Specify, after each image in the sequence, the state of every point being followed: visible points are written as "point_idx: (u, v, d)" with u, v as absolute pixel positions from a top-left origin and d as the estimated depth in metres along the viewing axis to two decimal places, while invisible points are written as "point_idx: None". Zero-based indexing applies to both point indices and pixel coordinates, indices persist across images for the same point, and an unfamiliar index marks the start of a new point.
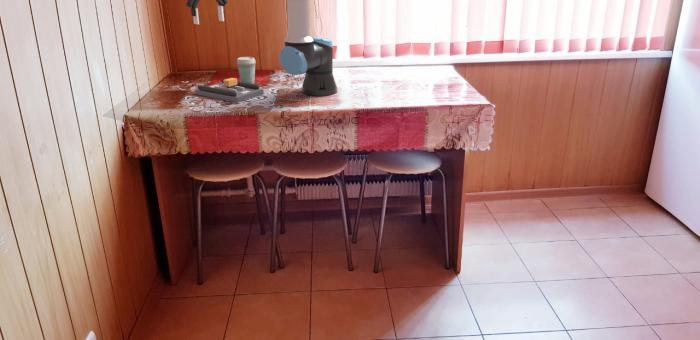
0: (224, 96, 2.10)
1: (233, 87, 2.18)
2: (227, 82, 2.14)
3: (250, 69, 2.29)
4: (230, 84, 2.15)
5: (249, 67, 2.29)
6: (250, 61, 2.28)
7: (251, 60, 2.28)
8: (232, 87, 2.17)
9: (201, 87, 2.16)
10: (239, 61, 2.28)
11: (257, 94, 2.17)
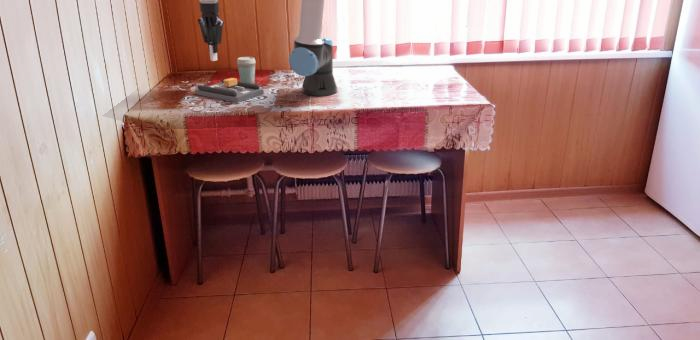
0: (224, 96, 2.10)
1: (233, 87, 2.18)
2: (227, 82, 2.14)
3: (250, 69, 2.29)
4: (230, 84, 2.15)
5: (250, 67, 2.29)
6: (250, 61, 2.28)
7: (251, 60, 2.28)
8: (232, 87, 2.17)
9: (201, 87, 2.16)
10: (239, 61, 2.28)
11: (257, 94, 2.17)
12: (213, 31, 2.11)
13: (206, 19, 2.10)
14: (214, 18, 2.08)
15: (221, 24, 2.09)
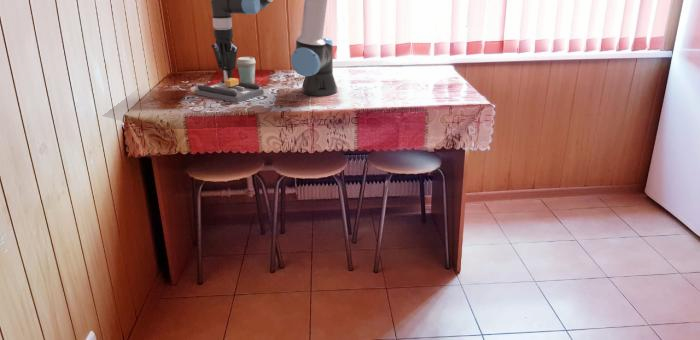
0: (224, 96, 2.10)
1: (234, 87, 2.17)
2: (228, 82, 2.14)
3: (250, 69, 2.29)
4: (231, 84, 2.15)
5: (249, 67, 2.29)
6: (250, 61, 2.28)
7: (251, 60, 2.28)
8: (233, 87, 2.17)
9: (201, 87, 2.16)
10: (239, 61, 2.28)
11: (257, 94, 2.17)
12: (227, 57, 2.12)
13: (220, 45, 2.11)
14: (228, 44, 2.09)
15: (235, 50, 2.09)
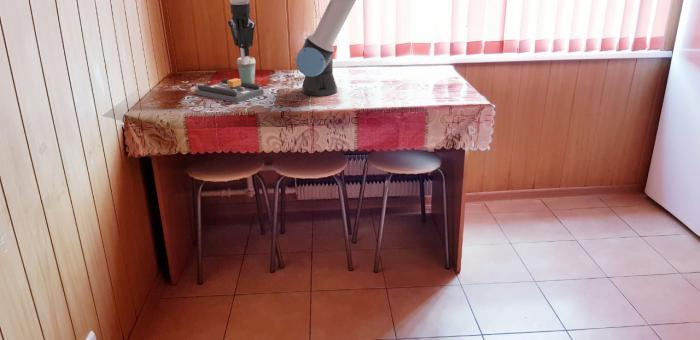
0: (224, 96, 2.10)
1: (237, 88, 2.17)
2: (231, 83, 2.13)
3: (250, 69, 2.29)
4: (234, 85, 2.14)
5: (249, 67, 2.29)
6: (250, 61, 2.28)
7: (251, 60, 2.28)
8: (236, 88, 2.16)
9: (201, 87, 2.16)
10: (239, 61, 2.28)
11: (257, 94, 2.17)
12: (244, 33, 2.03)
13: (237, 21, 2.02)
14: (245, 20, 2.00)
15: (253, 26, 2.00)
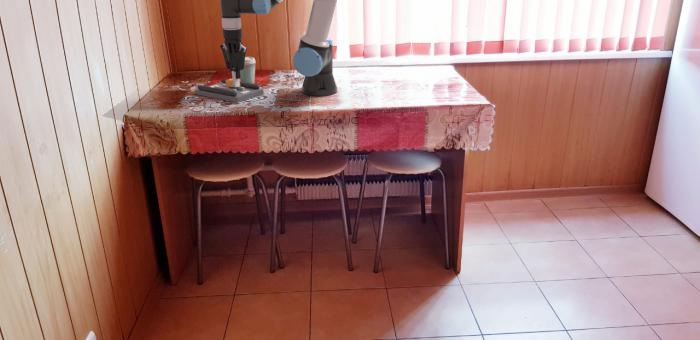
0: (224, 96, 2.10)
1: (235, 87, 2.17)
2: (229, 82, 2.14)
3: (250, 69, 2.29)
4: (232, 84, 2.14)
5: (249, 67, 2.29)
6: (250, 61, 2.28)
7: (251, 60, 2.28)
8: (234, 87, 2.16)
9: (201, 87, 2.16)
10: None
11: (257, 94, 2.17)
12: (236, 57, 2.09)
13: (229, 45, 2.08)
14: (237, 44, 2.06)
15: (244, 50, 2.07)
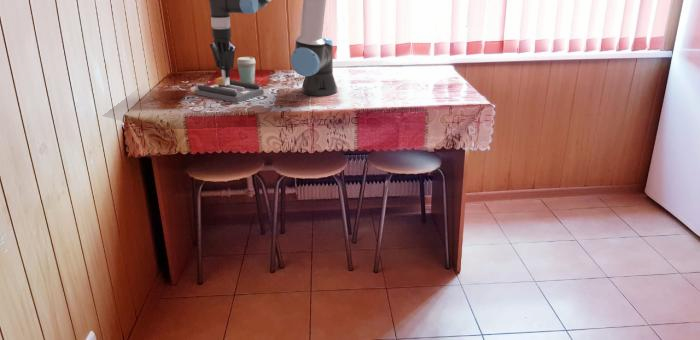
0: (224, 96, 2.10)
1: (225, 86, 2.20)
2: (219, 81, 2.17)
3: (250, 69, 2.29)
4: (222, 83, 2.17)
5: (249, 67, 2.29)
6: (250, 61, 2.28)
7: (251, 60, 2.28)
8: (224, 86, 2.19)
9: (201, 87, 2.16)
10: (239, 61, 2.28)
11: (257, 94, 2.17)
12: (225, 56, 2.12)
13: (218, 44, 2.11)
14: (226, 43, 2.09)
15: (233, 49, 2.10)
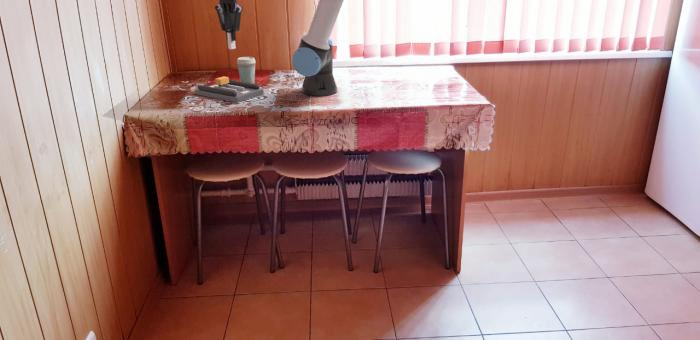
0: (224, 96, 2.10)
1: (225, 86, 2.20)
2: (219, 81, 2.17)
3: (250, 69, 2.29)
4: (222, 83, 2.17)
5: (250, 67, 2.29)
6: (250, 61, 2.28)
7: (251, 60, 2.28)
8: (224, 86, 2.19)
9: (201, 87, 2.16)
10: (239, 61, 2.28)
11: (257, 94, 2.17)
12: (231, 18, 2.04)
13: (224, 6, 2.03)
14: (232, 4, 2.01)
15: (240, 10, 2.02)
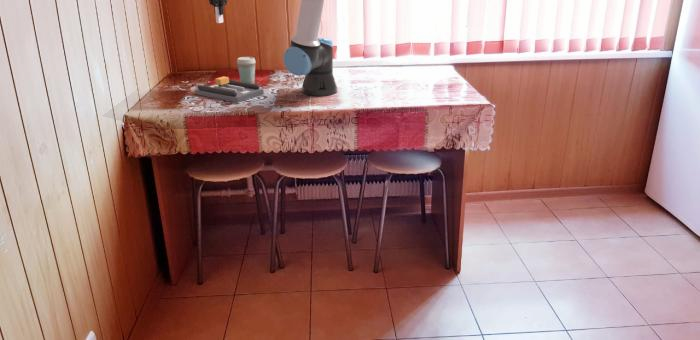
0: (224, 96, 2.10)
1: (225, 86, 2.20)
2: (219, 81, 2.17)
3: (250, 69, 2.29)
4: (222, 83, 2.17)
5: (250, 67, 2.29)
6: (250, 61, 2.28)
7: (251, 60, 2.28)
8: (224, 86, 2.19)
9: (201, 87, 2.16)
10: (239, 61, 2.28)
11: (257, 94, 2.17)
12: None
13: None
14: None
15: None
